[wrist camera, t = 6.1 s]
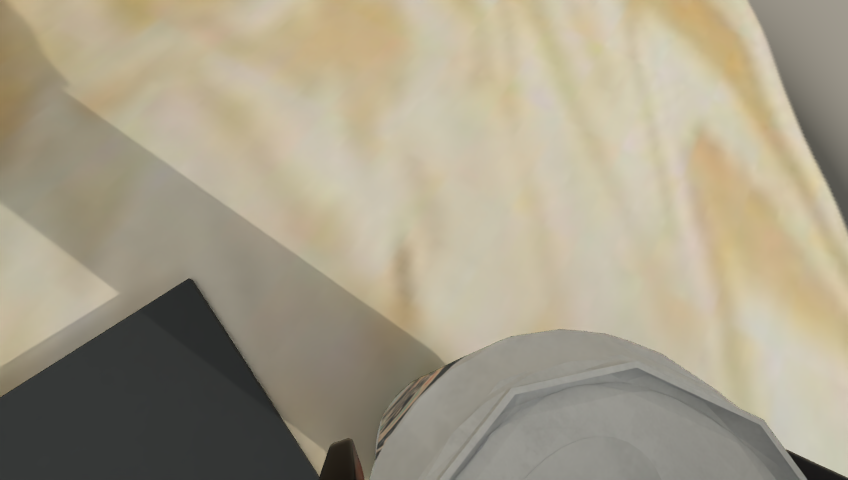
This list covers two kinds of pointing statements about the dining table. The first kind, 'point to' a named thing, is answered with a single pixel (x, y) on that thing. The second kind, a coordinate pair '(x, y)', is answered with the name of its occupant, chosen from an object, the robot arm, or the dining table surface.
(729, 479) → the beer can
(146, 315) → the mat
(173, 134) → the dining table surface
